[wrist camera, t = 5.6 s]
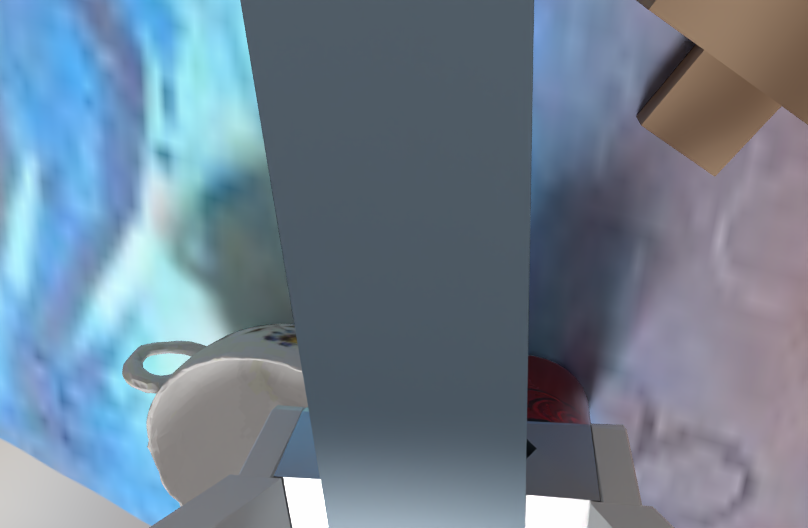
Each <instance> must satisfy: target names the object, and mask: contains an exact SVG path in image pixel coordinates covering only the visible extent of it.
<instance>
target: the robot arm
mask: <svg viewBox="0 0 808 528" xmlns="http://www.w3.org/2000/svg"><path fill="white" fill-rule="evenodd" d="M150 528H328V523H327V517H326V511H325V505H324V499H323V493H322V487H321V481H320V475H319V469H318V463H317V457H316V451H315V445H314V439H313V433H312V427H311V421H310V415H309V409H308V407H306V408H305V407H295V406H282V405H277V406H276V407H275V408H274V409H272V410H271V412H270V414H269V416H268V418H267V420H266V422H265V424H264V426H263V428H262V430H261V432H260V434H259V436H258V438H257V440H256V441H255V443H254V445H253V447H252V449H251V451H250V453H249V455H248V457H247V459H246V461H245V463H244V465H243V467H242V469H241V471H240V473H239V475H232V474H230V475H228V476H227V477H225V478H224V479H222V480H221V481H219V482H218V483H216V484H215V485H213V486H212V487H210V488H209V489H207V490H206V491H204V492H203V493H201V494H200V495H198V496H196V497H195V498H193V499H192V500H190V501H189V502H187V503H186V504H184V505H183V506H181V507H180V508H178V509H177V510H175V511H174V512H172V513H171V514H169V515H168V516H166V517H165V518H163V519H162V520H160V521H159V522H157V523H156V524H154V525H153V526H151V527H150ZM525 528H674V527H673V526H672V525H671V524H670V523H669V522H668V521H667V520H666V519H665V518H664V517H663V516H662V515H661V514H660V513H659V512H658V511H657V510H656V509H655V508H653V507H652V506H642V503H641V498H640V493H639V488H638V483H637V478H636V473H635V468H634V464H633V459H632V454H631V449H630V444H629V439H628V434H627V430H626V428H625V427H624V426H623V425H613V424H590V425H588V424H573V423H553V422H534V421H527V444H526V502H525Z"/></svg>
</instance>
